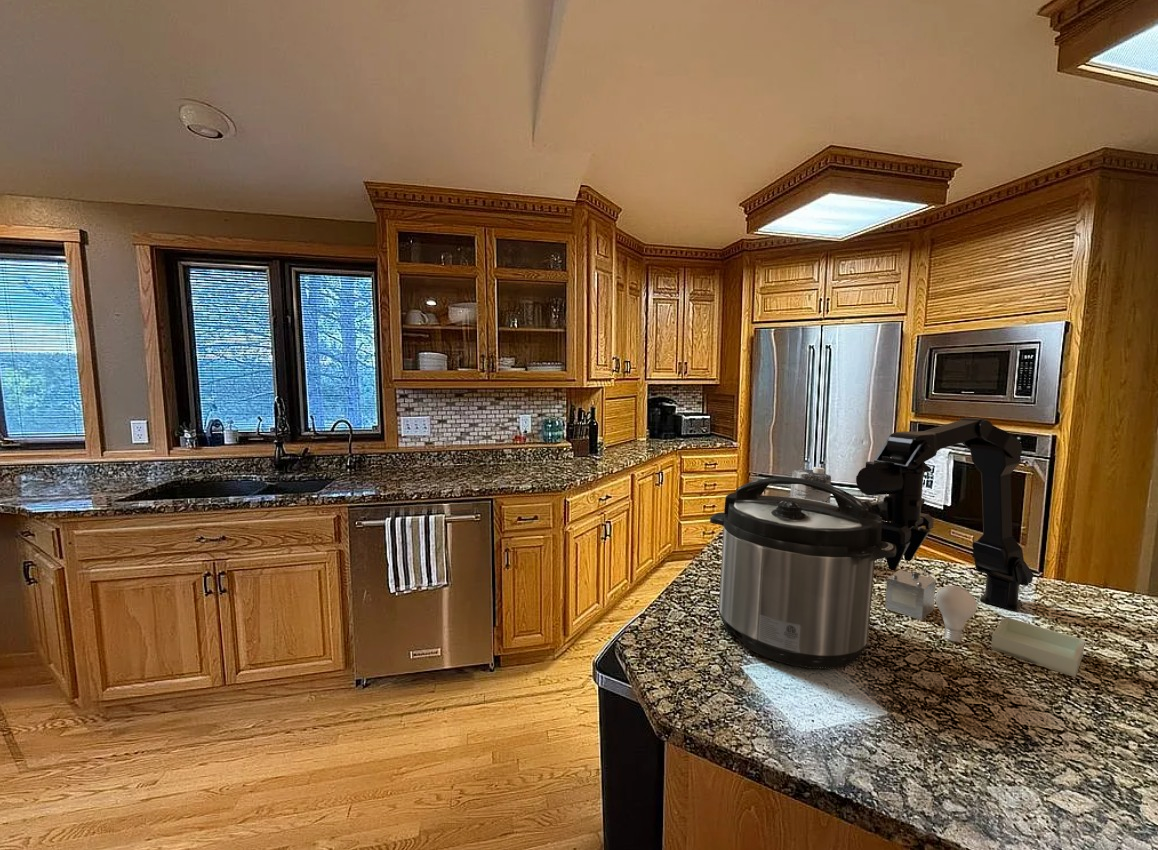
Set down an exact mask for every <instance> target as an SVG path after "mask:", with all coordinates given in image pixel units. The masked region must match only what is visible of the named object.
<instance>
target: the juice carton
mask: <svg viewBox="0 0 1158 850" xmlns="http://www.w3.org/2000/svg"><path fill="white" fill-rule="evenodd" d="M791 473H792V474H791V477H792V478H802V479H808V480H813V481H818V482H821V483H825V484H828V485H831V486H832V477H831V475H829V474H826V473H825V468H824V467H817V466H813V468H812V469H807V468H806V469H805V468H804V469H802V468H801V469H799V468H797V469H796V468H794V469H792V472H791ZM831 496H832V494H830V493H827V492H824V491H821V490H818V489H815V488H811V487H808V486H805V485H802V484H790V495H789V497H796V498H804V499H811V500H816V501H821V502H826V503H831Z"/></svg>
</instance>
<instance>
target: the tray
mask: <svg viewBox="0 0 1158 850" xmlns="http://www.w3.org/2000/svg"><path fill="white" fill-rule="evenodd" d="M991 636H992V637H991V645H990V649H991V650H993V651H997V652H999V653H1002V654H1004V655H1007V656H1011V657H1013V658H1016V659H1020V660H1023V661H1026V662H1029V663H1031V664H1035V665H1037V666H1041V667H1044V668H1046V669H1049V670H1053V671H1055V672H1057V673H1061V674H1064V675H1067V676H1070V677H1072V678H1076V677H1077V674H1078V671H1079V668H1080V665H1081V663H1082V660H1083V657H1084V653H1085V652H1084V651H1085V642H1086V640H1085V639H1082V638H1079V637H1076V636H1073V635H1069V634H1066V633H1063V632H1060V631H1059V632H1058V631H1055V630H1053V629H1048V628H1045V627H1042V626H1039V625H1034V624H1032V623H1029V622H1028V623H1027V622H1024V621H1022V620H1021V621H1020V620H1018V619H1015V618H1011V617H1007V616H1005V617H1004V618H1003V620H1002V621H1001V622H1000V624H998V625H997V627H996V629H994V632H993V633H992V635H991Z"/></svg>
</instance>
